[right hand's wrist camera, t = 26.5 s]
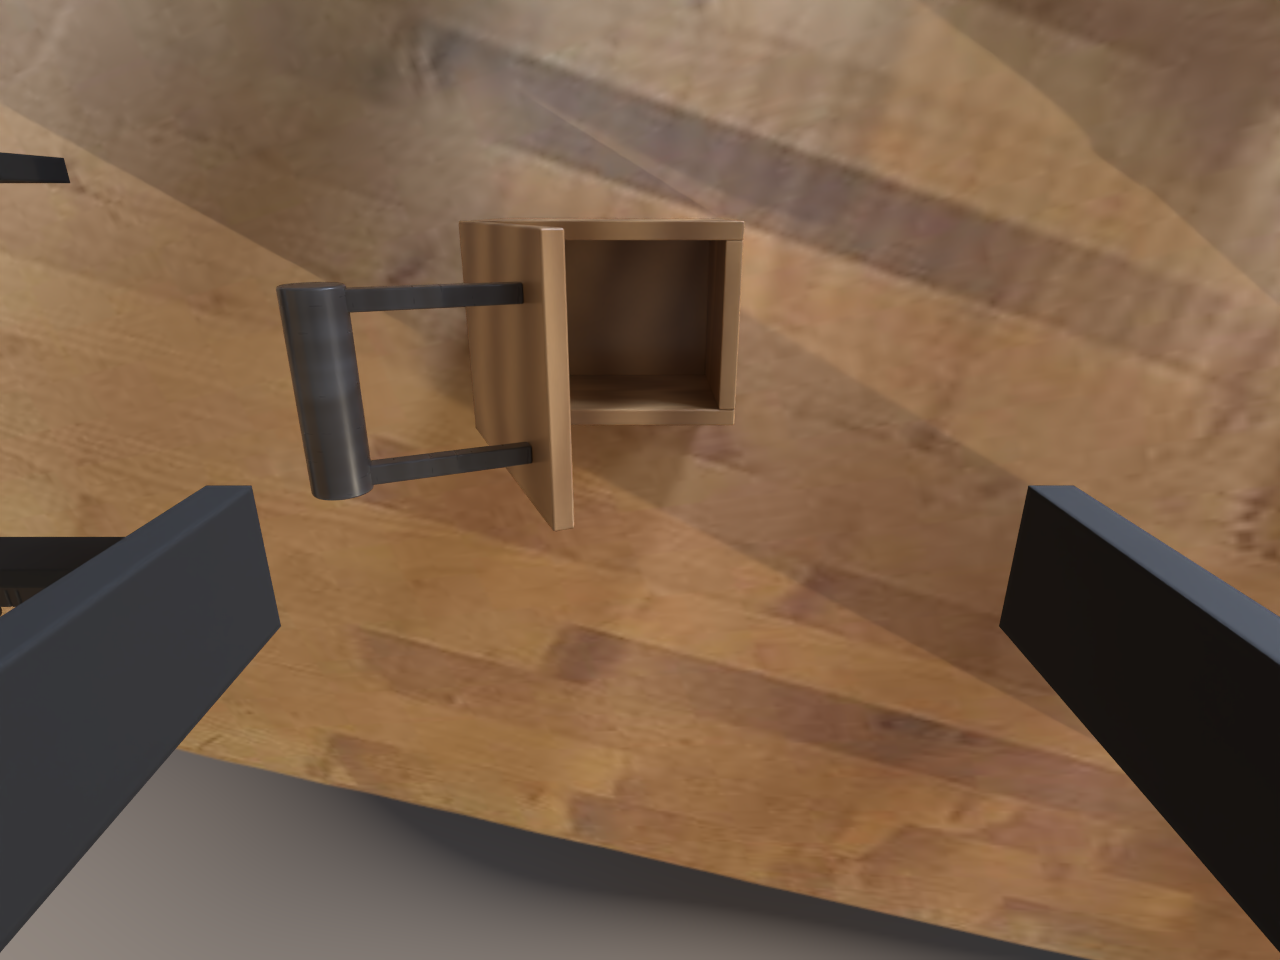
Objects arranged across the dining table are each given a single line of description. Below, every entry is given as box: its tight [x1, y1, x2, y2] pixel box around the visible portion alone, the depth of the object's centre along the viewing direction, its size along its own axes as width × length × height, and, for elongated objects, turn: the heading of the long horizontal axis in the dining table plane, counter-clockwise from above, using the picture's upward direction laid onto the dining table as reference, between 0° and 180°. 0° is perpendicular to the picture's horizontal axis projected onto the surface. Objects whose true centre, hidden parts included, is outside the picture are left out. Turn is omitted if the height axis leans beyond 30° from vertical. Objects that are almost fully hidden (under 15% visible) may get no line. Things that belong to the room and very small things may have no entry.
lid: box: [276, 221, 574, 531], centre depth 28 cm, size 14×10×8 cm
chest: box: [475, 218, 744, 425], centre depth 40 cm, size 13×10×9 cm
